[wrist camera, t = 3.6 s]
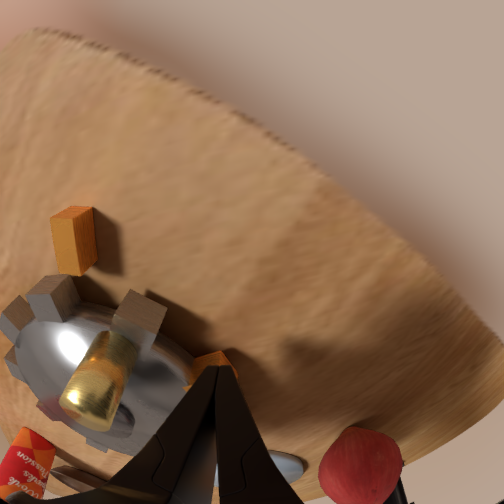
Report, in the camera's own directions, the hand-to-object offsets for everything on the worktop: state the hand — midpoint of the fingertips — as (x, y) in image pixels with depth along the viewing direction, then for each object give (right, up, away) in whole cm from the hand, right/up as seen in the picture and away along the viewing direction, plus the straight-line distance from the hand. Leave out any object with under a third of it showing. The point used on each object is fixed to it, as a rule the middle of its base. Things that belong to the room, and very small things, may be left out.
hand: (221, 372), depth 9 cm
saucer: (-24, -32, +19) cm, 45 cm away
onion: (+8, -9, +8) cm, 15 cm away
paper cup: (-27, -20, +13) cm, 36 cm away
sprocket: (-7, -4, +6) cm, 10 cm away
